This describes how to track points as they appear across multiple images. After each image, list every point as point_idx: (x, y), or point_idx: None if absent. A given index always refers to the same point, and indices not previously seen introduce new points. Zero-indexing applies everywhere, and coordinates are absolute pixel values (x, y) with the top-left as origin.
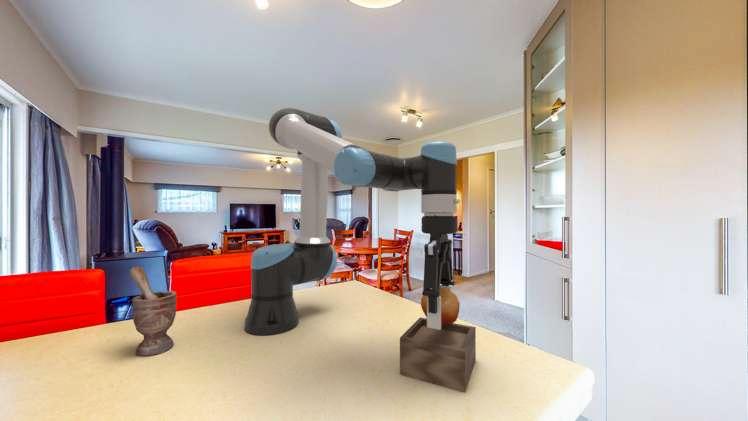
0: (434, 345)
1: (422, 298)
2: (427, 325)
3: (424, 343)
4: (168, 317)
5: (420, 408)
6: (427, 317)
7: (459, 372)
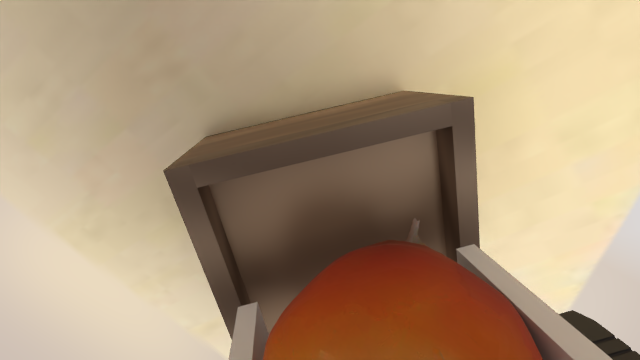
0: (222, 311)
1: (331, 346)
2: (237, 316)
3: (207, 277)
4: None
5: (125, 262)
6: (230, 353)
7: None
